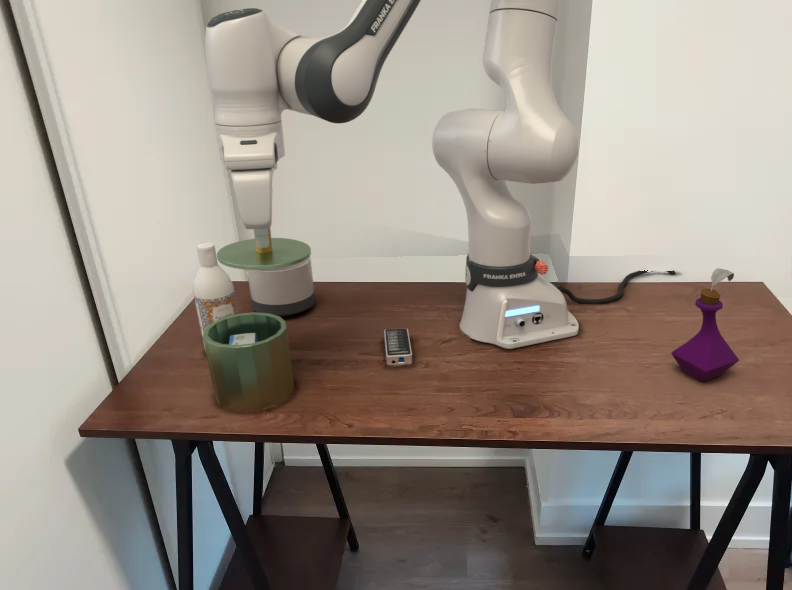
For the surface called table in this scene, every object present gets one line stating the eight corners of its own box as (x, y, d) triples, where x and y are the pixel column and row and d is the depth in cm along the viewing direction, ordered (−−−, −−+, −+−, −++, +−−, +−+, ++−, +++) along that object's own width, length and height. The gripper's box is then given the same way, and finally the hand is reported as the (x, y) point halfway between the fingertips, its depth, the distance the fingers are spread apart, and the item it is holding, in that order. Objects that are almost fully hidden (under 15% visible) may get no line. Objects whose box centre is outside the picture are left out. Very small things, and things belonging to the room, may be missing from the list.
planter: (284, 292, 150) (278, 246, 145) (328, 304, 143) (323, 256, 138) (240, 312, 141) (232, 264, 136) (284, 326, 134) (277, 276, 129)
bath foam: (212, 362, 122) (191, 254, 112) (200, 348, 127) (178, 244, 117) (249, 352, 125) (232, 246, 115) (236, 338, 130) (218, 236, 120)
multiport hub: (408, 338, 128) (407, 327, 127) (412, 366, 118) (412, 354, 117) (384, 340, 128) (383, 329, 127) (387, 368, 118) (386, 356, 117)
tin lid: (309, 243, 109) (306, 207, 106) (313, 271, 97) (310, 231, 94) (220, 247, 106) (215, 210, 104) (214, 276, 95) (208, 236, 92)
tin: (293, 370, 118) (285, 309, 113) (295, 407, 108) (286, 342, 102) (219, 378, 117) (207, 316, 111) (213, 417, 106) (199, 350, 100)
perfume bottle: (702, 389, 109) (724, 283, 100) (667, 369, 115) (685, 267, 106) (735, 377, 112) (760, 273, 103) (699, 359, 118) (720, 259, 109)
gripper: (232, 133, 102) (244, 224, 109) (222, 159, 85) (238, 266, 91) (275, 131, 103) (284, 222, 110) (274, 156, 85) (286, 263, 92)
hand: (263, 242), depth 100 cm, fingers closed on tin lid, 2 cm apart
